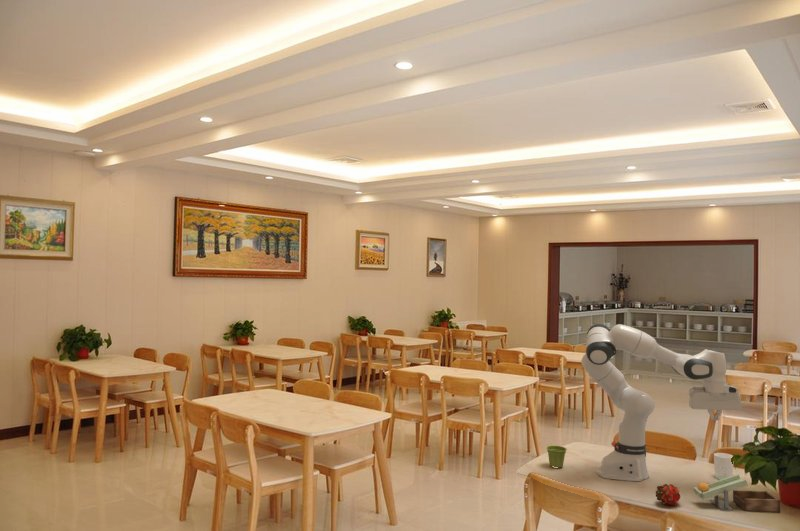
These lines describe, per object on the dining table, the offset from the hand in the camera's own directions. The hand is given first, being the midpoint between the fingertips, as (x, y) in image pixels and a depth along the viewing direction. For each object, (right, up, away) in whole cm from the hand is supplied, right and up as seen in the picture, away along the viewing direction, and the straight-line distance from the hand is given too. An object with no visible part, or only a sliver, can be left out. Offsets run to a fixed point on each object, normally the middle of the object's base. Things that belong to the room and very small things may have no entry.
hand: (714, 420), depth 259 cm
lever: (-7, -22, -16) cm, 29 cm away
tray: (+5, -29, -21) cm, 36 cm away
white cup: (+11, -30, +14) cm, 34 cm away
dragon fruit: (-28, -29, -18) cm, 44 cm away
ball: (-14, -22, -19) cm, 32 cm away
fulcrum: (-8, -29, -20) cm, 36 cm away
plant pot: (-60, -30, +29) cm, 73 cm away
